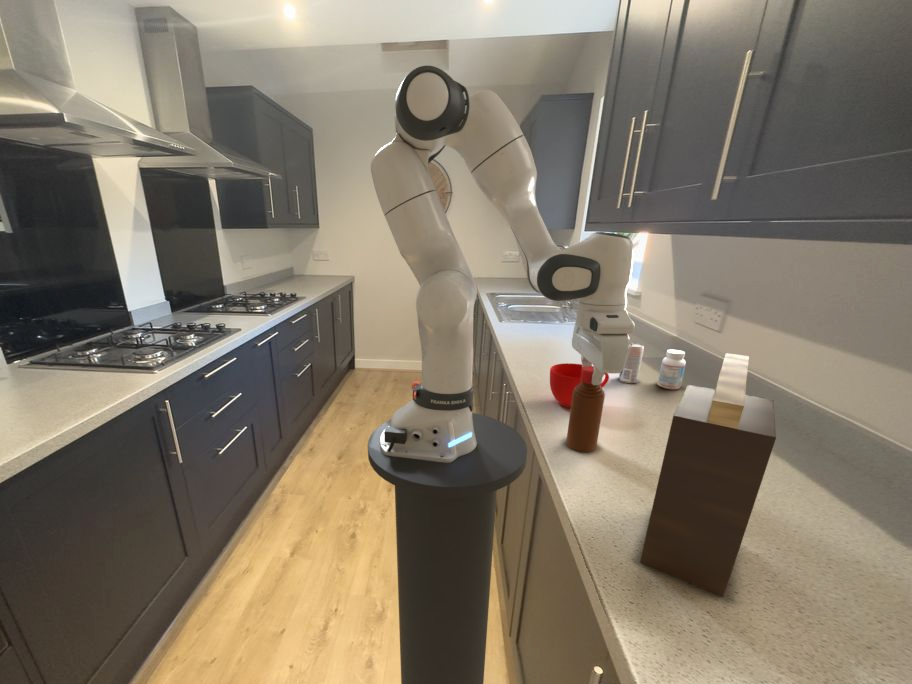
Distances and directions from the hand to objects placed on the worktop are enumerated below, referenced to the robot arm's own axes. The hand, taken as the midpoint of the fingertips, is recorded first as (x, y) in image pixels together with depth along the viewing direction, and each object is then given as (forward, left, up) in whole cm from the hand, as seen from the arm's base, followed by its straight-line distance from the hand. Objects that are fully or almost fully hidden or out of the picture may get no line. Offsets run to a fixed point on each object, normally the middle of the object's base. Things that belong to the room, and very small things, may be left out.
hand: (590, 379), depth 89 cm
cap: (0, 0, +2) cm, 2 cm away
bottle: (0, 0, -16) cm, 16 cm away
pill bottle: (+39, +39, -16) cm, 57 cm away
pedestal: (+5, -33, -16) cm, 37 cm away
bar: (+8, -28, +8) cm, 31 cm away
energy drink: (+29, +44, -16) cm, 55 cm away
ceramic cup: (+7, +25, -16) cm, 31 cm away
